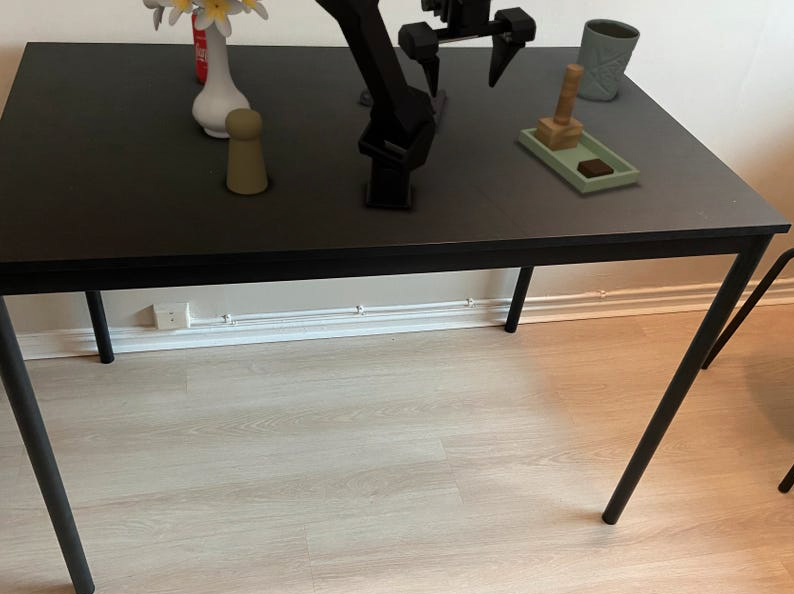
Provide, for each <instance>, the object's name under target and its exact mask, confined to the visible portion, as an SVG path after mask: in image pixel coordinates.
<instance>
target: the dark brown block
mask: <svg viewBox="0 0 794 594" xmlns="http://www.w3.org/2000/svg"><path fill="white" fill-rule="evenodd" d="M577 171H578V172H580V173H581V174H582V175H584V176H585V177H586V178H587V179H590V178H595V177H600V176H605V175H611V174H613V173H614V169H613V168H611V167H610V166H609V165H607V164H606V163H605V162H603V161H602V160H601V159H599V158H597V159H592V160H586V161H581V162H579V164H578V167H577Z"/></svg>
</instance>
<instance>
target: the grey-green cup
mask: <svg viewBox="0 0 794 594" xmlns="http://www.w3.org/2000/svg"><path fill="white" fill-rule="evenodd" d="M581 36H582V37H581V41H580V46H579V50H578V54H577V60H576V64H578V65H581V66H582V67H584V70H583V74H582V78H581V81H580V85H579V89H578V92H577V94H578V95H581V96H583V97H587V98H592V99H598V100H599V99H600V100H601V101H603V102H606V101H607V102H608V101H611V100H613V99H614V98H615V96H616V94H617V92H618V89H619V87H620V85H621V82H622V80H623V77H624V75H625V74H624V73H625V71H626V70H627V67H628V65H629V63H630V61H631V57H632V55H633V52H634V50H635V49H636V47H637V44H638V42H639V40H640V37H641V31H639V29H637V28H636V27H634V26H633V25H631V24H628V23H625V22H623V21H619V20H614V19H609V18H593V19H589V20H587V21H585V22H584V26H583V31H582V35H581Z"/></svg>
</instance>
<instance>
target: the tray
mask: <svg viewBox="0 0 794 594" xmlns="http://www.w3.org/2000/svg"><path fill="white" fill-rule="evenodd" d="M536 131H537V127H532V128H526V129H521V130H520V131H519V136H518V142H520V144H522V145H523V146H524V147H526V148H527V149H528V150H529V151H530V152H532V153H533V154H534V155H535V156H537V157H538V158H539V159H541V160H542V162H543V163H545V164H546V165H548V166H549V167H550V168H551V169H553V170H554V171H556V173H558V174H559V175H560V176H561V177H562V178H563V179H565V180H566V181H567V182H568V183H570V184H571V185H572V186H574V187H575V188H576V189H577V190H578V191H579V192H580V193H582V194H585V193H590V192H594V191H599V190H604V189H605V190H606V189H608V188H609V189H610V188H614V187H619V186H620V187H621V186H624V185H630V184H635V183H637V182H638V179H639V176H640V173H641V170H639V169H637V167H635V166H633V164H631V163H629V162H628V161H626V160H625V159H623V158H622V157H621V156H620V155H618V154H616V152H614V151H613V150H611V149H610V148H608V147H607V146H606V145H604V144H603V143H602V142H601V141H599V140H598V139H596V138H595V137H593V136H592V135H591V134H590V133H588V132H586V130H584V129H582V133H581V134H580V137H579V140H578V144H577V147H576V148H570V149H564V150H558V151H551V150H550V149H548V148H547V147H546V146H545V145H543V144H542V143H541V142H539V141H538V140H537V139H536V138H535V135H536ZM597 158H599V159H601V160H602V161H603V162H605V163H606V164H607V165H609V166H610V167H611V168H613V169H614V173H613V174H611V175H605V176H600V177H595V178H590V179H587V178H586V177H585V176H584V175H582V174H581V173H580V172H578V171H577V167H578V164H579V162H581V161H586V160H592V159H597Z"/></svg>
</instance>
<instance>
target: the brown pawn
mask: <svg viewBox="0 0 794 594" xmlns="http://www.w3.org/2000/svg"><path fill="white" fill-rule="evenodd" d="M225 127H226V131H227V133H228V134H229V135H230V137H229V144H228V158H227V175H226V186H227V189H229V190H230V191H232V192H234V193H236V194H240V195H254V194H259V193H261V192H263V191H265V190H266V189H267V188H268V185H269V182H268V176H267V170H266V166H265V165H266V164H265V160H264V155H263V149H262V144H261V138H260V136H261V135H262V132H263V128H264V122H263V119H262V116H261V115H260V113H259V112H258V111H256V110H254V109H247V108H239V109H235V110H232V111H231V112H229V113H228V115H227V117H226V119H225Z"/></svg>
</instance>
